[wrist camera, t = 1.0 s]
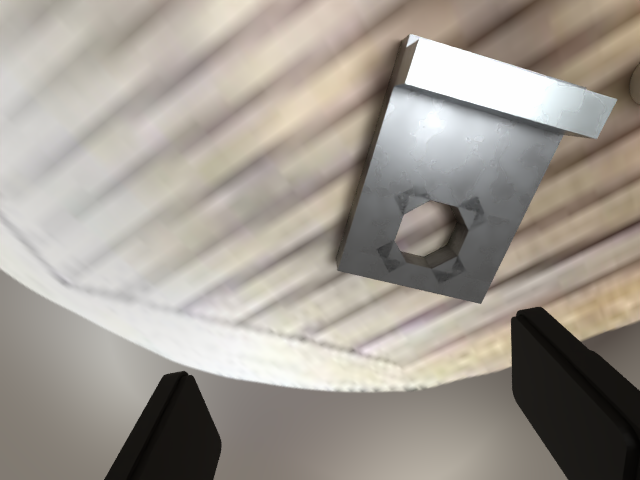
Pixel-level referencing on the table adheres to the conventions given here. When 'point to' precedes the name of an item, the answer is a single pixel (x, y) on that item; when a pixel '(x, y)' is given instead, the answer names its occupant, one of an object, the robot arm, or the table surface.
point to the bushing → (635, 85)
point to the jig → (459, 163)
